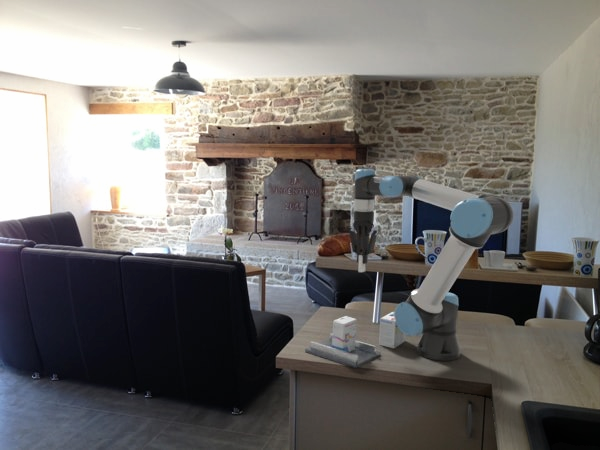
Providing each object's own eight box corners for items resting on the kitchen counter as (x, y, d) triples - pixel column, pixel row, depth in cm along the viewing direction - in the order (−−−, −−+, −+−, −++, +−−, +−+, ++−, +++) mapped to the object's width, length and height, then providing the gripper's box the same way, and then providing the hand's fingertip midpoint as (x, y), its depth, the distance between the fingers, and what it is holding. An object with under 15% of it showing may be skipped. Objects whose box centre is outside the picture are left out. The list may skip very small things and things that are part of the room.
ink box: (342, 356, 186) (343, 323, 184) (331, 352, 189) (332, 320, 187) (355, 349, 193) (357, 318, 191) (344, 346, 196) (345, 315, 194)
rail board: (380, 354, 190) (380, 345, 190) (355, 368, 178) (356, 358, 178) (331, 340, 204) (331, 331, 204) (305, 351, 192) (305, 342, 192)
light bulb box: (390, 337, 209) (391, 311, 208) (406, 341, 205) (407, 314, 204) (378, 345, 201) (379, 317, 199) (394, 349, 197) (395, 321, 195)
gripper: (384, 211, 198) (381, 272, 201) (354, 208, 206) (352, 267, 209) (373, 212, 192) (371, 275, 195) (343, 209, 200) (342, 270, 203)
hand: (361, 271), depth 202 cm, fingers closed
